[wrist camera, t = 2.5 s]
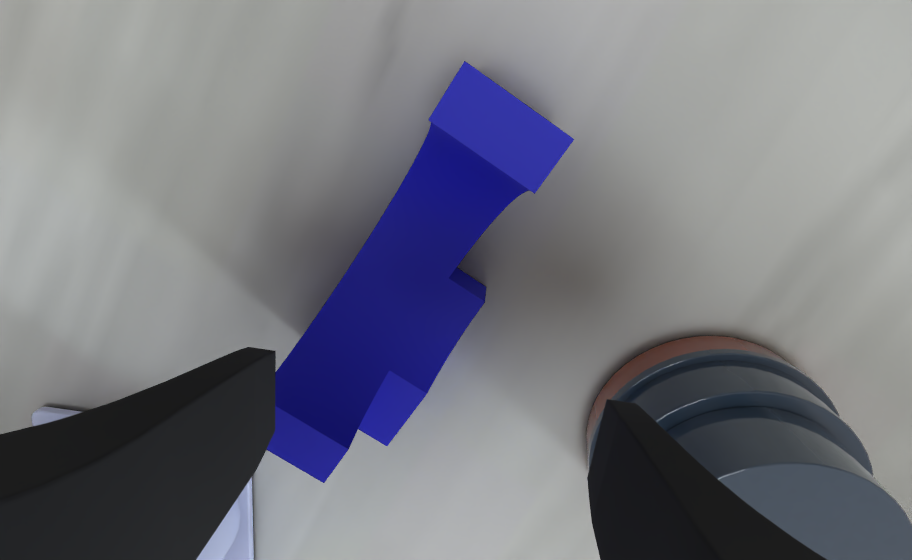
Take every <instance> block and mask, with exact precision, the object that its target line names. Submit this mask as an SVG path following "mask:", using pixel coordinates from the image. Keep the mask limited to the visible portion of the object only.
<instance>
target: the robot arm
mask: <svg viewBox="0 0 912 560" xmlns="http://www.w3.org/2000/svg"><path fill="white" fill-rule="evenodd" d="M32 424H33V427H29V428H25V429H21V430H17V431H13V432H9V433H5V434H0V560H254V548H253V507H252V475H253V474H254V472H255V471H256V469H257V467H258V465H259V463H260V461H261V459H262V457H263V455H264V453H265V451H266V449H267V447H268V445H269V443H270V441H271V438H272V436H273V434H274V432H275V351H272V350H265V349H258V348H251V347H247V348H244V349H241V350H238V351H235V352H233V353H230V354H228V355H226V356H223V357H221V358H219V359H216V360H214V361H212V362H209V363H207V364H205V365H203V366H200V367H198V368H196V369H193V370H191V371H189V372H186V373H184V374H182V375H180V376H177V377H175V378H173V379H170V380H168V381H166V382H163V383H161V384H158V385H156V386H153V387H151V388H148V389H145V390H143V391H140V392H138V393H135V394H133V395H130V396H128V397H125V398H123V399H120V400H117V401H115V402H112V403H109V404H106V405H103V406H100V407H97V408H94V409H91V410H88V411H85V412H80V411H73V410H66V409H59V408H53V407H41V408H39V409H38V410H36V411H35V412H33V414H32ZM587 478H588V489H589V500H590V509H591V518H592V524H593V529H594V533H595V538H596V542H597V546H598V550H599V555H600V559H601V560H827V559H826V558H824V557H822V556H821V555H819V554H818V553H816V552H814V551H813V550H811V549H810V548H808V547H807V546H805V545H804V544H802V543H801V542H799V541H798V540H796V539H795V538H793V537H792V536H790V535H789V534H788V533H786V532H785V531H784V530H782V529H781V528H779V527H778V526H777V525H775V524H774V523H773V522H771V521H770V520H768V519H767V518H766V517H764V516H763V515H762V514H760V513H759V512H757V511H756V510H755V509H754V508H752V507H751V506H750V505H748V504H747V503H746V502H745V501H743V500H742V499H741V498H740V497H738V496H737V495H736V494H735V493H734V492H732V491H731V490H730V489H729V488H728V487H727V486H725V485H724V484H723V483H722V482H721V481H719V480H718V479H717V478H716V477H715V476H714V475H712V474H711V473H710V472H709V471H708V470H707V469H706V468H704V467H703V466H702V465H701V464H700V463H699V462H698V461H697V460H696V459H695V458H693V457H692V456H691V455H690V454H689V453H688V452H687V451H686V450H685V449H684V448H683V447H682V446H681V445H680V444H679V443H678V442H677V441H675V440H674V439H673V438H672V437H671V436H670V435H669V434H668V433H667V432H666V431H665V430H664V429H663V428H662V427H661V426H660V425H659V424H658V423H657V422H656V421H655V420H654V419H653V418H652V417H651V416H649V415H648V414H647V413H646V412H645V411H644V410H643V409H642V408H641V407H639V406H638V405H637V404H636V403H630V402H623V401H616V400H609V399H606V404H605V408H604V412H603V416H602V420H601V424H600V428H599V432H598V436H597V440H596V445H595V449H594V453H593V457H592V461H591V465H590V469H589V473H588V477H587Z"/></svg>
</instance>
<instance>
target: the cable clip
mask: <svg viewBox="0 0 912 560" xmlns="http://www.w3.org/2000/svg"><path fill="white" fill-rule="evenodd" d="M429 121H431V126H430V129H429V132H428V134H427V137H426V139H425V141H424V143H423V145H422V147H421V149H420V151H419V153H418V155H417V157H416V159H415V161H414V162H413V164H412V166H411V168H410V170H409V172H408V173H407V175H406V177H405V179H404V180H403V182H402V184H401V186H400V187H399V189H398V191H397V192H396V194H395V196H394V197H393V199H392V201H391V202H390V204H389V206H388V207H387V209H386V211H385V212H384V214H383V215H382V217H381V219H380V220H379V222H378V224H377V225H376V227H375V228H374V230H373V232H372V233H371V235H370V236H369V238H368V239H367V241H366V243H365V244H364V246H363V247H362V249H361V250H360V252H359V253H358V255H357V257H356V258H355V260H354V261H353V263H352V264H351V266H350V267H349V269H348V270H347V272H346V273H345V275H344V276H343V278H342V279H341V281H340V282H339V284H338V285H337V287H336V288H335V290H334V291H333V293H332V294H331V296H330V297H329V299H328V300H327V302H326V303H325V304H324V306H323V307H322V309H321V310H320V312H319V313H318V315H317V316H316V317H315V319H314V320H313V322H312V323H311V325H310V326H309V327H308V329H307V330H306V332H305V333H304V334H303V336H302V337H301V339H300V340H299V342H298V343H297V344H296V346H295V347H294V348H293V350H292V351H291V353H290V354H289V355H288V357H287V358H286V359H285V361H284V362H283V363H282V365H281V366H280V367H279V369H278V370H277V371H276V373H275V432H274V434H273V436H272V438H271V441H270V443H269V445H268V447H267V449H266V450H268V451H270V452H272V453H273V454H275V455H277V456H278V457H280V458H282V459H284V460H285V461H287V462H289V463H290V464H292V465H294V466H296V467H297V468H299V469H301V470H302V471H304V472H306V473H308V474H309V475H311V476H313V477H314V478H316V479H318V480H320V481H321V482H323V483H324V482H325V481H326V480H327V478H328V477H329V475H330V474H331V473H332V471H333V470H334V469H335V467H336V466H337V464H338V463H339V462H340V460H341V459H342V458H343V456H344V455H345V453H346V452H347V451H348V449H349V447H350V445H351V443H352V440H353V438H354V436H355V434H356V432H357V430H358V429H359V430H361V431H362V432H364V433H366V434H367V435H369V436H371V437H372V438H374V439H376V440H377V441H379V442H381V443H382V444H384V445H386V446H388V444H389V443H390V442H391V440H392V439H393V438H394V436H395V435H396V434H397V432H398V431H399V430H400V429H401V427H402V426H403V425H404V423H405V422H406V421H407V419H408V418H409V417H410V415H411V414H412V413H413V411H414V410H415V409H416V407H417V406H418V405H419V404H420V402H421V401H422V400H423V398H424V397H425V396H426V394H427V393H428V391H429V389H430V387H431V385H432V384H433V382H434V380H435V378H436V376H437V375H438V373H439V371H440V369H441V368H442V366H443V364H444V363H445V361H446V359H447V358H448V356H449V354H450V353H451V351H452V349H453V348H454V346H455V345H456V343H457V342H458V340H459V339H460V337H461V335H462V334H463V332H464V331H465V329H466V328H467V327H468V325H469V324H470V322H471V321H472V319H473V318H474V316H475V315H476V314H477V312H478V311H479V309H480V308H481V307H482V305H483V304H484V303H485V296H486V287H485V286H484V285H482V284H481V283H479V282H478V281H476V280H475V279H473V278H472V277H470V276H469V275H467V274H466V273H464V272H463V271H461V270H460V269H458V268H457V266H458V265H459V263H460V262H461V261H462V259H463V258H464V257H465V255H466V254H467V253H468V251H469V250H470V249H471V247H472V246H473V245H474V244H475V242H476V241H477V240H478V239H479V237H480V236H481V235H482V234H483V232H484V231H485V230H486V229H487V228H488V226H489V225H490V224H491V223H492V222H493V221H494V219H495V218H496V217H497V216H498V215H499V214H500V213H501V212H502V211H503V210H504V209H505V208H506V207H507V206H508V205H509V204H510V203H511V202H512V201H513V200H514V199H515V198H517V197H518V196H519V195H521V194H522V193H524V192H526V191H529V190H530V191H532V192H533V193H534V194H535V192H536V191H537V190H538V188H539V187H540V186H541V184H542V183H543V181H544V180H545V179H546V177H547V176H548V175H549V173H550V172H551V170H552V169H553V168H554V166H555V165H556V164H557V162H558V161H559V159H560V158H561V157H562V155H563V154H564V153H565V151H566V150H567V148H568V147H569V146H570V144H571V143H572V142H573V140H574V139H573V138H572V137H570V136H569V135H567V134H566V133H565V132H563V131H562V130H560V129H559V128H558V127H556V126H555V125H553V124H552V123H551V122H549V121H548V120H547V119H545V118H544V117H542V116H541V115H540V114H538V113H537V112H535V111H534V110H533V109H531V108H530V107H528V106H527V105H526V104H524V103H523V102H521V101H520V100H519V99H517V98H516V97H514V96H513V95H512V94H510V93H509V92H507V91H506V90H505V89H503V88H502V87H500V86H499V85H498V84H496V83H495V82H493V81H492V80H491V79H489V78H488V77H486V76H485V75H484V74H482V73H481V72H479V71H478V70H477V69H475V68H474V67H472V66H471V65H470V64H468V63H467V62H465V61H464V63H463V65H462V66H461V68H460V69H459V71H458V73H457V74H456V76H455V77H454V79H453V81H452V82H451V84H450V86H449V87H448V89H447V90H446V92H445V94H444V95H443V97H442V99H441V100H440V102H439V103H438V105H437V107H436V108H435V110H434V111H433V113H432V115H431V116H430V118H429Z"/></svg>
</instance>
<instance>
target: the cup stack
mask: <svg viewBox="0 0 912 560" xmlns="http://www.w3.org/2000/svg"><path fill="white" fill-rule="evenodd" d="M606 399H609V400H616V401H623V402H630V403H636V404H637V405H638V406H639V407H641V408H642V409H643V410H644V411H645V412H646V413H647V414H648V415H649V416H651V417H652V418H653V419H654V420H655V421H656V422H657V423H658V424H659V425H660V426H661V427H662V428H663V429H664V430H665V431H666V432H667V433H668V434H669V435H670V436H671V437H672V438H673V439H674V440H675V441H677V442H678V443H679V444H680V445H681V446H682V447H683V448H684V449H685V450H686V451H687V452H688V453H689V454H690V455H691V456H692V457H693V458H695V459H696V460H697V461H698V462H699V463H700V464H701V465H702V466H703V467H704V468H706V469H707V470H708V471H709V472H710V473H711V474H712V475H714V476H715V477H716V478H717V479H718V480H719V481H721V482H722V483H723V484H724V485H725V486H727V487H728V488H729V489H730V490H731V491H732V492H734V493H735V494H736V495H737V496H738V497H740V498H741V499H742V500H743V501H745V502H746V503H747V504H748V505H750V506H751V507H752V508H754V509H755V510H756V511H757V512H759V513H760V514H762V515H763V516H764V517H766V518H767V519H768V520H770V521H771V522H773V523H774V524H775V525H777V526H778V527H779V528H781V529H782V530H784V531H785V532H786V533H788V534H789V535H790V536H792V537H793V538H795V539H796V540H798V541H799V542H801V543H802V544H804V545H805V546H807V547H808V548H810V549H811V550H813V551H814V552H816V553H818V554H819V555H821V556H822V557H824V558H826V559H827V560H912V524H911V522H910V520H909V518H908V517H907V515H906V513H905V511H904V510H903V509H902V508H901V506H900V505H899V504H898V503H897V501H896V500H895V499H894V498H893V497H892V496H891V495H890V494H889V493H888V492H887V491H886V490H885V489H884V487H883V486H882V485H881V484H880V483H879V482H878V481H877V480H876V479H875V478H874V477H873V472H872V466H871V463H870V460H869V457H868V454H867V452H866V450H865V448H864V446H863V444H862V443H861V441H860V439H859V438H858V437H857V435H856V434H855V433H854V432H853V431H852V429H851V428H850V427H849V426H848V425H847V424H846V423H845V422H844V421H843V420H842V419H841V418H840V417H839V414H838V412H837V410H836V408H835V407H834V405H833V403H832V401H831V400H830V399H829V397H828V396H827V395H826V394H825V392H824V391H823V390H822V389H821V388H820V387H819V386H818V385H817V384H816V383H815V382H814V381H813V380H811V379H810V378H809V377H808V376H807V375H806V374H804V373H803V372H801V371H800V370H798V369H797V368H795V367H794V366H792V365H790V364H788V363H787V362H786V361H785V360H784V359H783V358H781V357H780V356H778V355H777V354H775V353H774V352H772V351H770V350H768V349H766V348H764V347H762V346H760V345H758V344H755V343H751V342H748V341H745V340H741V339H736V338H731V337H722V336H696V337H689V338H683V339H678V340H674V341H671V342H667V343H664V344H662V345H659V346H656V347H654V348H651V349H649V350H648V351H646V352H644V353H642V354H640V355H638V356H637V357H635V358H634V359H632V360H631V361H629V362H628V363H626V364H625V365H624V366H623V367H622V368H621V369H619V370H618V371H617V372H616V373H615V374H614V375H613V376H612V377H611V379H610V380H609V381H608V382H607V383H606V384H605V386H604V387H603V389H602V390H601V392H600V393H599V395H598V396H597V399H596V401H595V403H594V405H593V407H592V410H591V413H590V416H589V419H588V426H587V449H588V470H589V469H590V465H591V461H592V457H593V453H594V449H595V445H596V440H597V436H598V432H599V428H600V424H601V420H602V416H603V412H604V408H605V404H606Z"/></svg>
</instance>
